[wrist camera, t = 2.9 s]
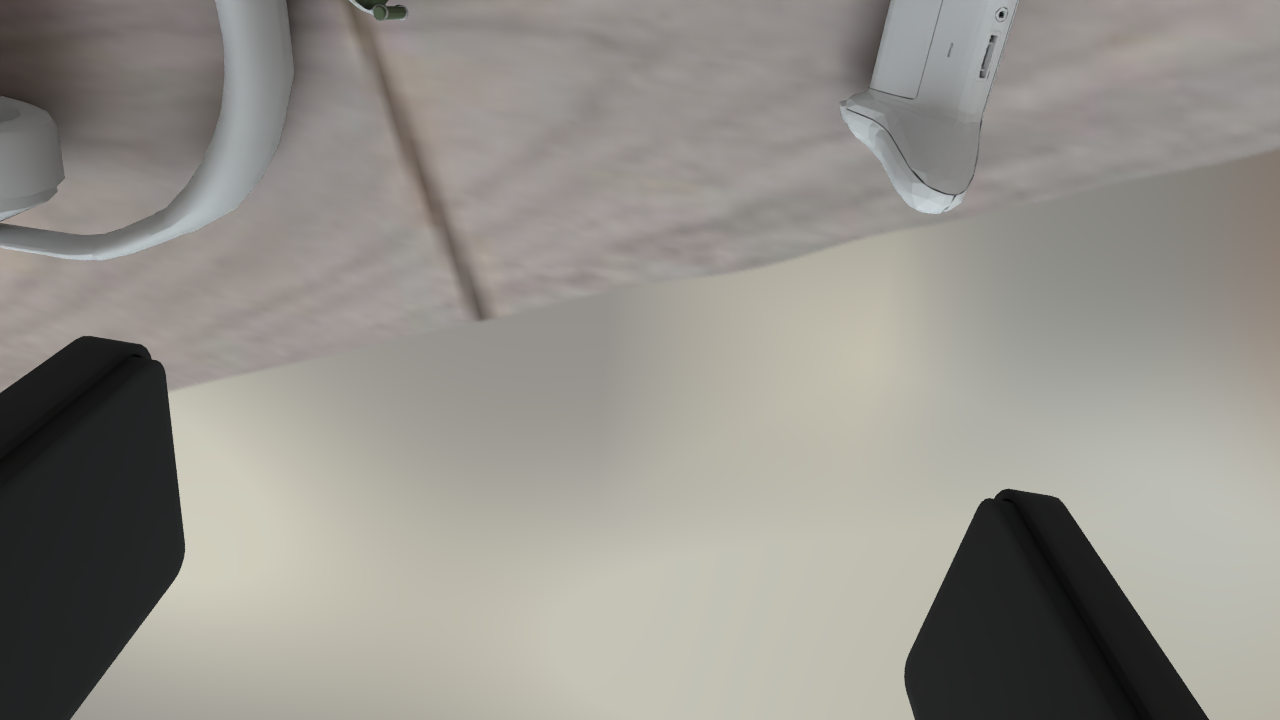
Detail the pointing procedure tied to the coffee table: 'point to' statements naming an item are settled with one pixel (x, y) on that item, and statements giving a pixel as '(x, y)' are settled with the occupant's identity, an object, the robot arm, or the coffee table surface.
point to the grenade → (381, 9)
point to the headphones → (232, 166)
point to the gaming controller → (931, 95)
